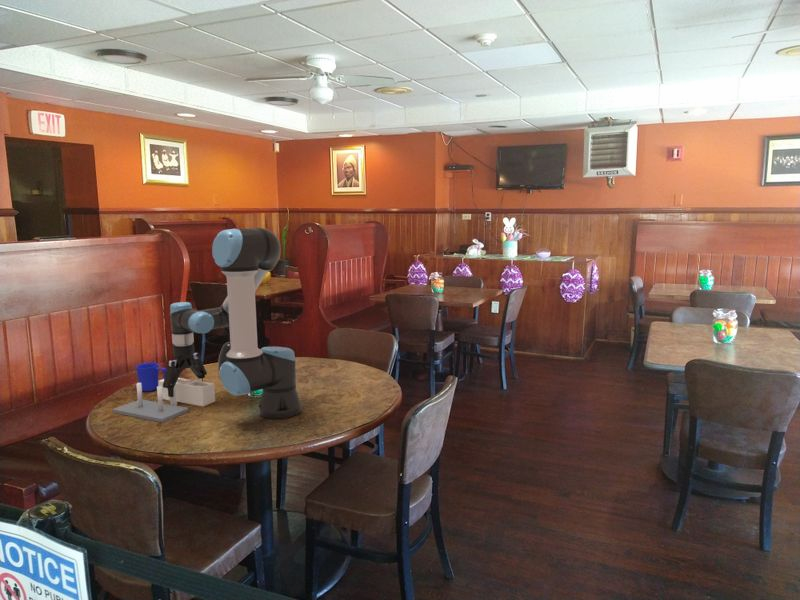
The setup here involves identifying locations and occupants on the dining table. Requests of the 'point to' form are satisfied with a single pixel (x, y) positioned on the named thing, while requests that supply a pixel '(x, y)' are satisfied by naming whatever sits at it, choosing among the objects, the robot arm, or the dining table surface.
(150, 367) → the mug
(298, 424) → the dining table surface
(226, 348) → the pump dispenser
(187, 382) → the white slotted block
